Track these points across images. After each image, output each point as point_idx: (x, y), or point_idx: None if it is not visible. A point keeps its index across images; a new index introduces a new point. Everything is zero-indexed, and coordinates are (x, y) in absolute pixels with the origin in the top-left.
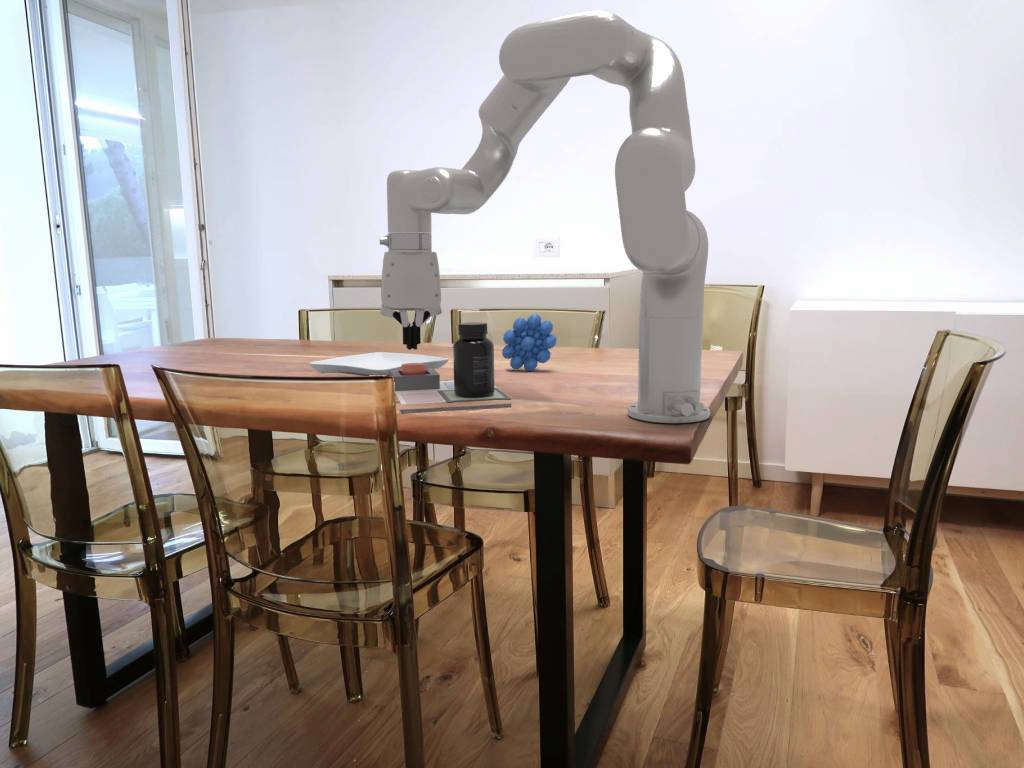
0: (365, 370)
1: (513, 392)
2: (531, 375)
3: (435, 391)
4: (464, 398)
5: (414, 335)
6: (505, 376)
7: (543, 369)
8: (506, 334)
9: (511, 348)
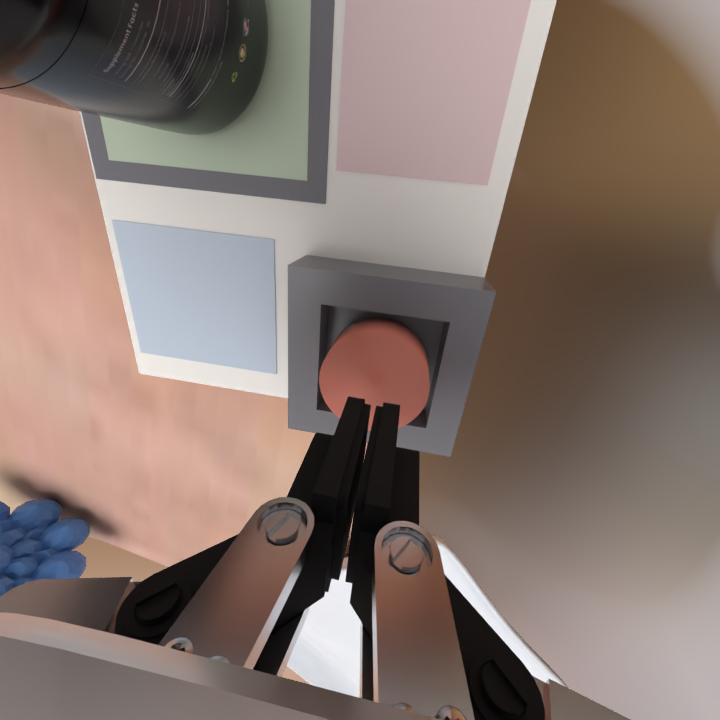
0: (470, 575)
1: (75, 244)
2: (46, 457)
3: (333, 204)
4: None
5: (348, 449)
6: (108, 472)
7: None
8: None
9: (42, 571)
